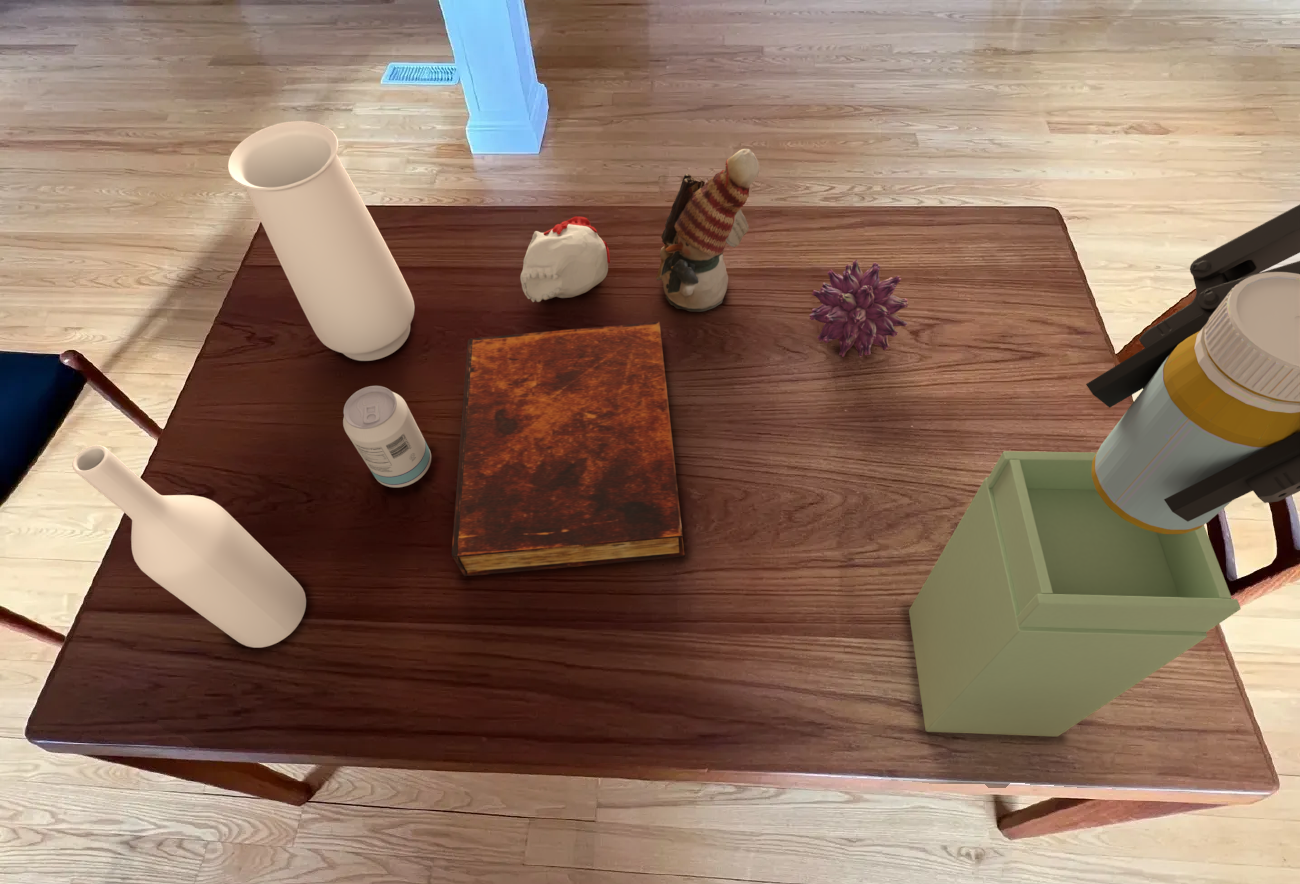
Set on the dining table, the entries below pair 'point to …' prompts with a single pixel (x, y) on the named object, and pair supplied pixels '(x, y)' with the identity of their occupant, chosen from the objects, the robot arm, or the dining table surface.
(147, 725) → the dining table surface
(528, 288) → the white and red skull
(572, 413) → the book
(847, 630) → the dining table surface
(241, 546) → the bottle
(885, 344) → the flower
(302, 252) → the vase
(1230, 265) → the robot arm
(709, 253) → the figurine
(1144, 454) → the bottle
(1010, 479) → the stand
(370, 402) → the beverage can
